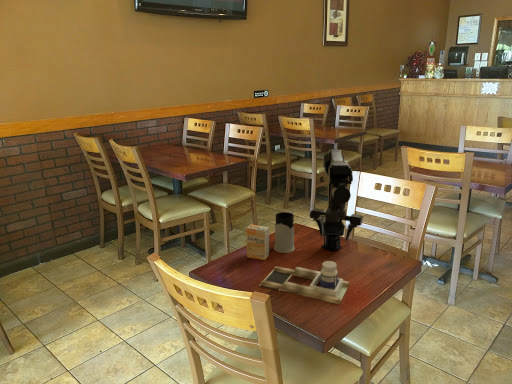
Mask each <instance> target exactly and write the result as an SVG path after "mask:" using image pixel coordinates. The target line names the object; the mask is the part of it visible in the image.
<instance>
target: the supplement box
mask: <svg viewBox="0 0 512 384" xmlns="http://www.w3.org/2000/svg"><path fill="white" fill-rule="evenodd" d="M245 230H246V258H247V259H248V258H249V259H255V260H261V261H266V260H267V259H268V258H269V256H270V255H269V254H270V226H266V225H265V226H264V225H257V224H252V223H250V224H249V225H248V226H246V229H245Z"/></svg>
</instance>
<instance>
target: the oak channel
mask: <svg viewBox="0 0 512 384" xmlns="http://www.w3.org/2000/svg"><path fill="white" fill-rule="evenodd" d="M273 270H274V271H278V272H282V273H287V274H292V277H293V276H295V277H297V278H298V277H299V278H304V279H308V280H312V281H313V280H314V278H315V277H316V276H317V274H321V271H319V270H313V269H309V268H304V267H300V266H296V267H295V269H293V268H287V267H283V266H277V265H275V266H274V267H273ZM260 284H261V285H263V286H267V287H271V288H275V289H280V291H283V292H285V293H286V292H287V293H290V294H295V295H298V296H302V297H306V298H311V299H315V300H318V301H324V302H328V303H332V304H336V305H340V304H341V301H342V300H341V298H338V297H334V296H330V295H325V294H321V293H317V292H316V288H313V287H309V286H307V285H303V284H299V283H294V282H290V281H287V282H286V281H285V282H284V283H283V284H279V283H274V282H270V281H266V280H264V279H262V280H261V281H260ZM349 285H350V281H346V280H343V286H344V287H348V288H349Z"/></svg>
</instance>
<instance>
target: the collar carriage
mask: <svg viewBox="0 0 512 384" xmlns="http://www.w3.org/2000/svg"><path fill="white" fill-rule="evenodd" d="M320 279H321V274H317V276H316V277H315V278H314V280H312V281H311V283H310V284H309V286H308V287H313V288H316V292H317V293H321V294H325V295H330V296H334V297H337V295H338V293H339V292H340V290H341V288H342V286H343V281H344V279H343V278H339V277H338V279H337V286H336V288H335V290H331V289H327V288H322V287H320V286H318V284H319V283H320Z"/></svg>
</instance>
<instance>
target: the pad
mask: <svg viewBox="0 0 512 384" xmlns="http://www.w3.org/2000/svg"><path fill="white" fill-rule="evenodd" d="M348 288H349V286H348V287H344V286H342V288H341V290H340V292H339V293H338V295H337V297H338V298H341V301H342V300H343V299H344V297H345V294H346V292H347V290H348Z"/></svg>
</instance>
